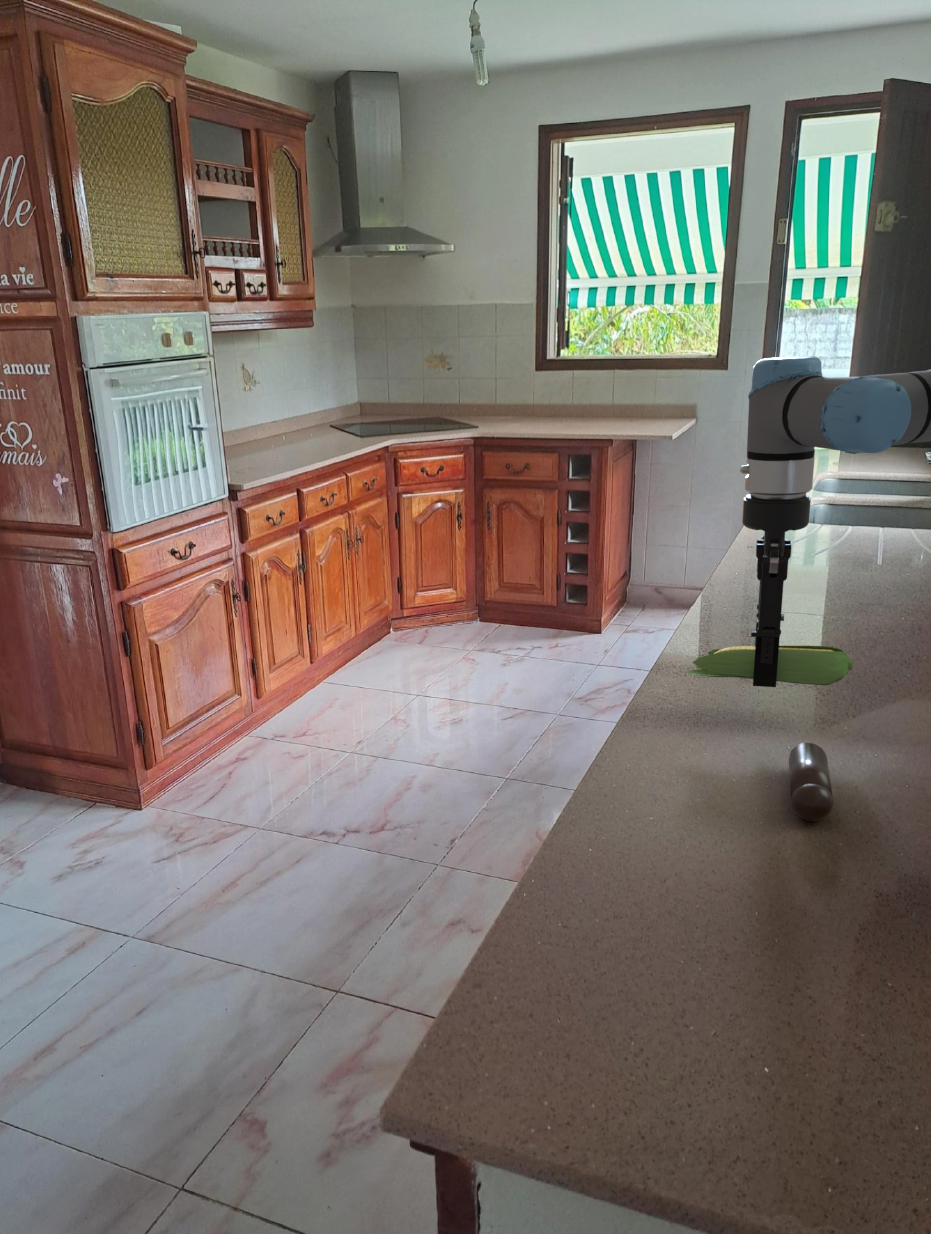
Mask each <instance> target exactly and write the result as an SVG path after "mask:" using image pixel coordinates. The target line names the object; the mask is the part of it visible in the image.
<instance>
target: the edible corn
mask: <svg viewBox="0 0 931 1234" xmlns="http://www.w3.org/2000/svg"><path fill="white" fill-rule="evenodd" d="M754 660H755V645H735V646H734V645H733V646H728V647H725V648H717V649H716V648H715V649H711V650H710V651H708V652H707V655H703V656H699V657H698V658H696V659H695V660H692V664H693V665H695V666H696V667H697V668H698V669H691V670H686V671H683V673H685V674H688V675H693V676H699V677H707V678H736V679H737V678H738V679H749V680H753V675H754ZM852 670H853V660H850V657H849V655H848V654H847V652H845V651H844V650H843V649H840V648H838V647H832V646H827V645H825V646H823V645H779V653H778V666H777V679H776V682H781V683H790V684H800V685H811V686H813V685H814V686H830V685H833V684H835V683H837V682H840V681H841V680H842V679H843V678H844V677H846V676H847V675H848V674H849V671H852Z"/></svg>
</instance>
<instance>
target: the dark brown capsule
mask: <svg viewBox="0 0 931 1234" xmlns="http://www.w3.org/2000/svg"><path fill="white" fill-rule="evenodd" d="M827 756H828V755H827V754H826V752H825V750H824V749H823V748H822V747H821V746H819V744H816V743H812V742H802V743H799V744H797V745H795V747H793V748H792V749H791V751H790V753H789V755H788V773H789V790H790V791H789V792H790V803H791V807H792V809H793V812H794V813H795V815H796V816H798V817H799V818H800V819H802V820H804V821H808V822H819V821H822V820H823V819H826V818H827V817H828V816H829V815H830V813H831V812H832V811H833V808H834V798H833V790H832V789H833V788H832V782H831V775H830V770H829V762H828V757H827Z"/></svg>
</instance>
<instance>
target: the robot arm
mask: <svg viewBox="0 0 931 1234" xmlns="http://www.w3.org/2000/svg"><path fill="white" fill-rule="evenodd" d="M747 396H748V398H747V399H748V416H747V418H748V419H747V437H746V438H747V440H746V465H741V467H740V469H739V472H740V474H743V475H746V476H745V478H744V479H745V481H744V490H745V491H746V492H747V493H748V494H746V495H745V497H743V504H742V505H743V506H742V521H741V522H742V525H743V526H744V527H745V528H747V529H749V530H753V531H763V532H764V533H763V535H762V536H761V538H760V539H756V545H755V558H756V559H757V561H756V563H757V564H756V578H757V580H758V581H759V587H758V588H759V589H758V602H757V605H756V609H757V613H756V618H757V621H755V631H751V633H750V637H751V638H754V646H755V660H754V675H753V679H752V687H765V688H776V687H777V681H776V679H777V666H778V653H779V646H780V638H781V635H782V629H781V623H782V622H784V621H785V613H782V610H783V609H782V608H783V596H784V584H785V583H784V582H785V581H787V579H788V572H789V570H788V569H789V559H791V557H792V540H791V539H786V532H789V531H799V530H802V529H805V528H806V527H808V525H809V524H810V515H811V514H810V513H811V500H812V498H811V497H810V495H809V494H807V493H809V492H811V490H813V483H814V471H815V460H816V459H815V457H816V456H815V455H816V454H815V453H816V448H820V449H827V450H833V451H840V452H844V453H846V454H852V455H856V454H878V453H882V452H885V451H887V450H888V449H889V448H891V447H892V446H898V445H905V444H906V445H907V444H916V443H929V442H931V369H927V370H917V371H909V372H908V371H906V372H898V373H885V374H883V373H882V374H871V375H859V376H824V375H823V371H822V360H821V359H820V358H818V357H817V356H806V355H805V356H804V355H803V356H781V357H767V358H762V359H759V360H758V361H756V363H755V364H754V365H753V367H752V371H751V381H750V389H749V393H748V395H747Z"/></svg>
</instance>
